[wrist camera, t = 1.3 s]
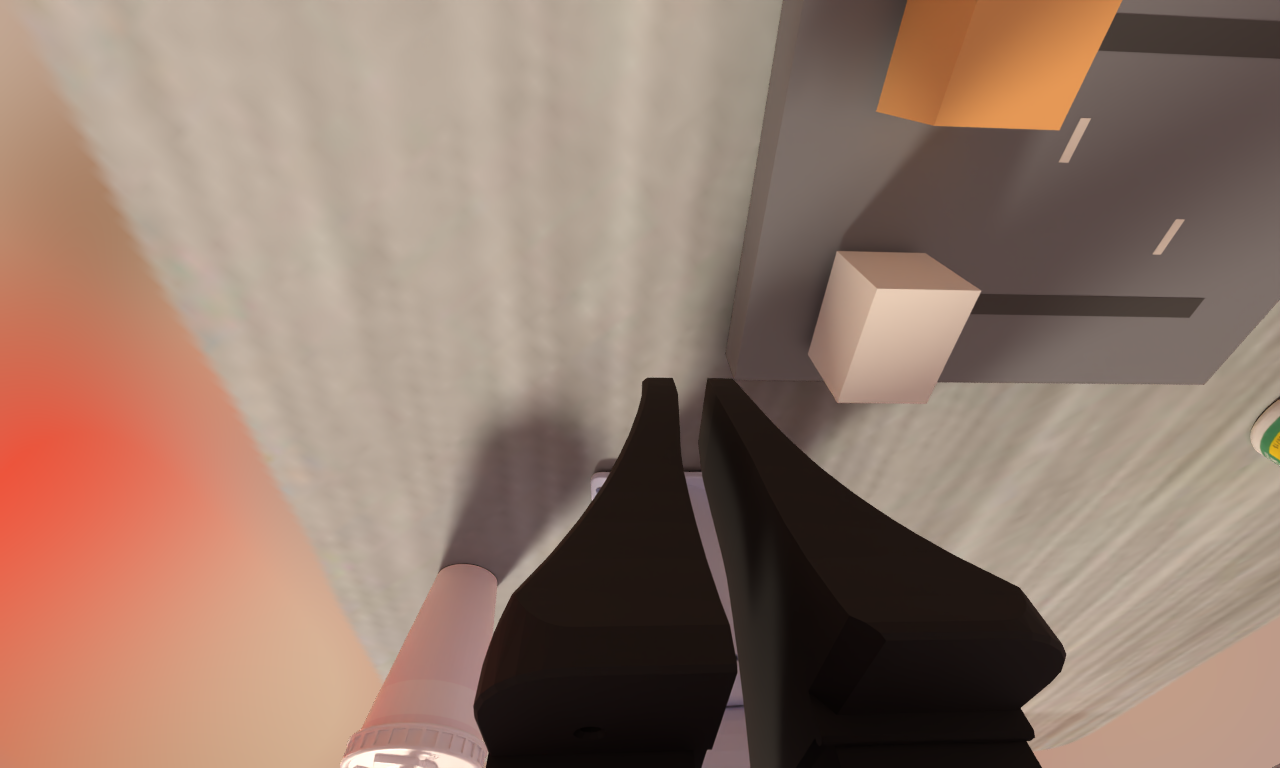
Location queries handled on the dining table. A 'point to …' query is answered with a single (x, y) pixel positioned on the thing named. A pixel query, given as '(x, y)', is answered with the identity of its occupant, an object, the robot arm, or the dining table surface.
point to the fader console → (1029, 199)
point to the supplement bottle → (1268, 433)
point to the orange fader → (993, 61)
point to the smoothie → (433, 682)
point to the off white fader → (888, 326)
